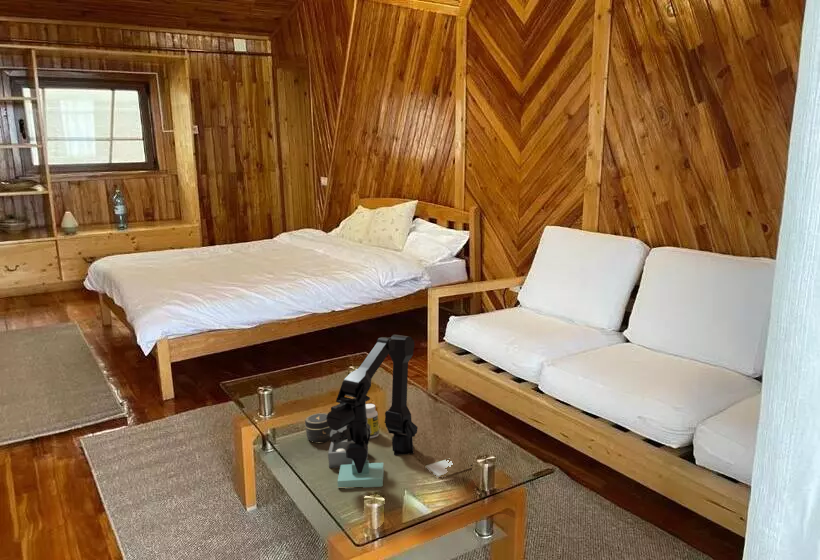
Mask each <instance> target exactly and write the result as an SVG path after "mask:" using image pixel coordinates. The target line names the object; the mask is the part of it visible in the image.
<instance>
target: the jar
mask: <svg viewBox="0 0 820 560" xmlns="http://www.w3.org/2000/svg"><path fill="white" fill-rule="evenodd" d="M327 415H328V412H327V413H325V412H319V413H313V414H311V415H309V416H307V417H305V420H304V422H305V423H304V424H305V425H304V426H305V434H306V438H307V440H308V441H309V440H310V441H313V442H323V443H327V442H329V441H331V438H330V432H331V430H333V429H331V428H330V427H329V425H328V423H327V420H326V417H327ZM310 441H309V442H310Z"/></svg>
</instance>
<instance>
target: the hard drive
mask: <svg viewBox="0 0 820 560" xmlns="http://www.w3.org/2000/svg"><path fill="white" fill-rule="evenodd" d="M448 462H449V460H447V461H446V459H443V460H440V461H436V462H432V463H430V464H426V465H425V469H426V468H427V469H428V470H429V471H428V470H427V469H426V470H427V471H428V472H430V471H432V472H433V474H434V475H436V476H437V477H440V476H441V475H444V474H446V473H447V472H448V471H447V469H445V468H447V467H448V466H449V467H451V465H453V463H452V461H450V462H449V463H448ZM433 474H432V475H433ZM434 475H433V476H434ZM436 476H435V477H436ZM437 477H436V478H437Z"/></svg>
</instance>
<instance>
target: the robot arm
mask: <svg viewBox="0 0 820 560" xmlns="http://www.w3.org/2000/svg"><path fill="white" fill-rule="evenodd" d="M415 347H416V346H415V340H414V339H413V337H411V336H410V335H409V336H407V335H400V334H392V335H391V337H389V336H388V337H387V336H385V337H384V336H381V337H378V338H377V340H376V343H375V344H374V347H373V348H372V349H371V351H370V352H369V353H368V355H367V356H366V357H365V359H364V360H363V362H362V363H361V365H360V366H359V367H358V368H357V369H355V370H353V371H351V372H350V373H349V374H348V375H347V376H346V377H345V378H344V379H343V381H342V383H341V386H340V389H339V391H338V394H337V397H336V400H335V402H336V403H338V404H337V405H332V406H331V407H330V411H329V412H327V414H328V415H327V417H326V420H327V423H328V425H329V427H330V428H331V429H333V430H331V432H330V438H331V440H330V443H331V442H333V444H334V445H336V444H338V443H339V442H342V441H346V440H347V442H350V441H353V442H355V443H350V444H349V445H348V446H347V448H346V457H347V458H351V459H353V461H354V464H355V466H356V469H357V472H358V473H362V470H363V467H364V464H365V461H366V458H367V456H368V457H369V446H368V445H369V443H370V439H371V438H370V433H371V428H370V425H369V424H368V423H367V421H368V420H367V416H366V404H367V403H366V402H368V401H369V400H370V399H371V398H370V396H367V395H368V393H369V391H370V388H371V387H372V378H373V377H374V375H375V374H376V373H377V371H378V370H379V368H380V366H381V365H383V362H384V361H385V360H386V358H387V356H388V355H389V356H390V359H391V360H392V382H391V383H392V384H391V385H392V386H391V406H390V407H389V408H388V410H386V411H385V413H384V417H385V418H384V424H385V427H386V428H387V432H388V433H389V434H392V435H393V436H391V446H392V447H391V448H392V451H393V455H394V456H399V455H400V456H402V455H403V456H404V455H414V453H415V451H414V450H415V449H414V442H413V441H414V440H413V438H414V437H416V434H417V433H418V426H417V425H416V424H415V423H414V422H412V413H411V411H410V409H409V407H408V377H409V376H408V375H409V374H408V373H409V362H410V360H411V359H412V357H413V355H414V352H415V351H414V350H415ZM346 396H347V397H346ZM350 397H351V398H350Z"/></svg>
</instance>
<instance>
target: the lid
mask: <svg viewBox="0 0 820 560" xmlns="http://www.w3.org/2000/svg"><path fill="white" fill-rule="evenodd" d="M384 468H385V467H384V462H371V463H370V460H369V459H367V460H366V461H365V464H364V467H363V470H362V473H358V472H357V469H356V466H355V464H354V461H352V464H347V465H341V466H340V467H339V471H338V472H339V473H338V477H337V488H338V487H363V488H378V487H383V483H384V471H385V469H384Z"/></svg>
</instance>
